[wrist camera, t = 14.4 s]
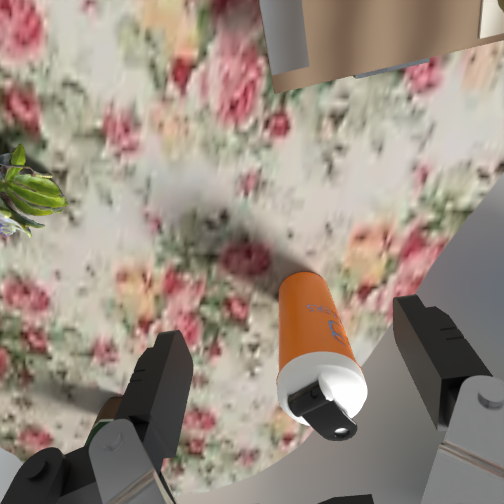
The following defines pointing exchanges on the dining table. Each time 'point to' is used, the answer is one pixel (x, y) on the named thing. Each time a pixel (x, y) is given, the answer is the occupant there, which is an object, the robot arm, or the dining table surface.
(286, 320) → the shaker bottle
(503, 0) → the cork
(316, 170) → the dining table surface
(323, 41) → the seesaw board
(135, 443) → the robot arm
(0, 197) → the passion flower
